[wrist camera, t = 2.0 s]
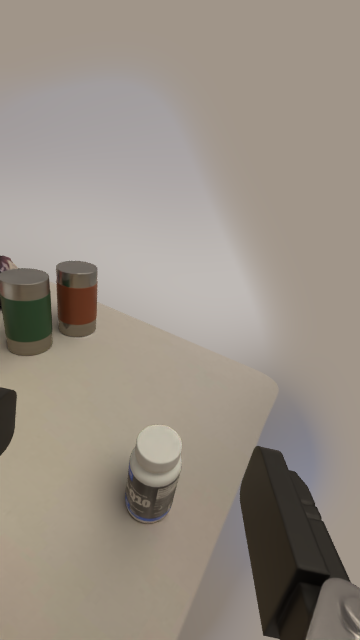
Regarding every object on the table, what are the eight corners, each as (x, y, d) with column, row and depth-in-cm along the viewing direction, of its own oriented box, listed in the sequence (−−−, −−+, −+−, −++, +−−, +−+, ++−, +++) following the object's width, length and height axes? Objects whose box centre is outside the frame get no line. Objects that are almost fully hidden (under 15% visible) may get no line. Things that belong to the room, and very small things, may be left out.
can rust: (99, 321, 58) (101, 264, 52) (90, 339, 52) (92, 276, 46) (65, 317, 57) (64, 258, 52) (52, 334, 51) (49, 270, 46)
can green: (58, 336, 51) (56, 272, 45) (43, 358, 45) (37, 287, 39) (19, 331, 50) (12, 265, 45) (-2, 353, 44) (-13, 280, 39)
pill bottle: (115, 494, 28) (120, 435, 25) (153, 468, 32) (163, 412, 28) (143, 537, 26) (154, 478, 22) (182, 504, 29) (197, 448, 25)
